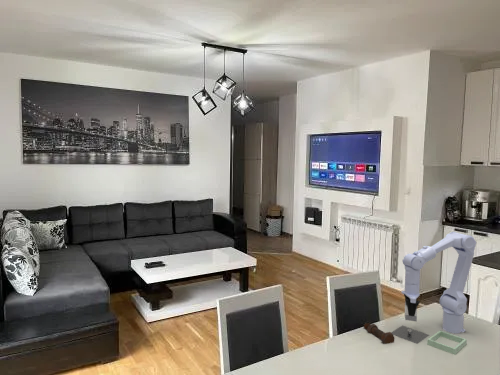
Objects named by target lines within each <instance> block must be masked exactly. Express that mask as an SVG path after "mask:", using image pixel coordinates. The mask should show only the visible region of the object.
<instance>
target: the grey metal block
mask: <svg viewBox="0 0 500 375" xmlns="http://www.w3.org/2000/svg"><path fill="white" fill-rule="evenodd" d="M417 318H418V308H417V309H416V312H415V316H409V314H408V307H407V304H406V302H405V301H404V320H405V321H409V322H410V321H411V322H417V321H418V319H417Z"/></svg>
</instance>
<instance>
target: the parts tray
mask: <svg viewBox="0 0 500 375" xmlns="http://www.w3.org/2000/svg"><path fill="white" fill-rule="evenodd" d="M440 337H442V338H445V339H448V340H449V341H450V340H451V341H453V342H456V343H458V344H456V345H455V347H452V346H449V345H447V344H444V343H442V342H438V341H437V340H438V339H439V338H440ZM426 342H427V346H430V347H433V348H436V349H439V350H442V351H444V352H447V353H449V354H452V355H456V354H457V353H459V351H461V350H462V349H463V348H464V347H466V346H467V342H468V340H467V338H464V337H461V336H459V335H455V334H453V333H450V332H447V331H443V330H438V331H437V332H436V333H433V335H432V336H430V337H429V338H427V340H426Z"/></svg>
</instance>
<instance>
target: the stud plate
mask: <svg viewBox="0 0 500 375" xmlns="http://www.w3.org/2000/svg"><path fill="white" fill-rule="evenodd" d="M390 332H391V333H392V334H393V336H394V337H398V338H400V339H403V340H405V341H408V342H411V343H414V344H416V345H418V344H419V343H421V342H422V341H424V340H425V339H427V338H428V337H429V336H430V334H429V333H425V332H423V331H420V330H416V329H414V328H411V327H408V326H406V325H401V326H399V327H398V328H396V329H394V330H393V331H390Z"/></svg>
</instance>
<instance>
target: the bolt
mask: <svg viewBox="0 0 500 375" xmlns="http://www.w3.org/2000/svg"><path fill="white" fill-rule="evenodd" d="M363 328H364V329H365V330H366V331H367V333H369V334H372V335H373V336H375V337H376V338H378V339H379V340H381V342H382V343H383V344H384V345H388V344H392V343H395V335H393V334H392V333H391V332H392V331H387V332H385V331H382V330H381V329H379V327H378V326H377V324H375V323H370V322H364V325H363Z"/></svg>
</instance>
